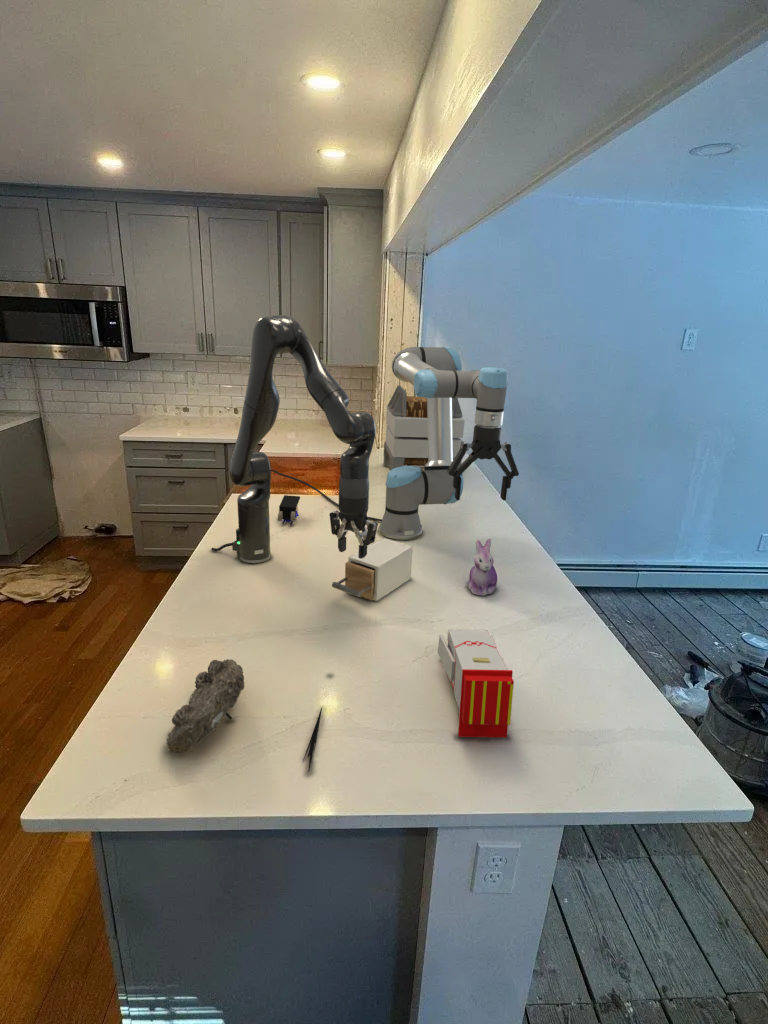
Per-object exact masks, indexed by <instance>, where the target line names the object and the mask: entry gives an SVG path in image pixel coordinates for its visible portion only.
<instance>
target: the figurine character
mask: <svg viewBox="0 0 768 1024" xmlns="http://www.w3.org/2000/svg"><path fill="white" fill-rule="evenodd" d="M300 499H301V495H287V494H284V495H283V497H282V500H281V502H280V504H279V506H278V514H277V521H279V522H282V523H281V525H283V526H284V525H285V524H286V523H290V524H289V525H290V526H292V525H293V523H294V522H295V521H296V519H297V517H299V513H298V511H299V507H298V504H299V502H300Z"/></svg>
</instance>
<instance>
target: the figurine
mask: <svg viewBox="0 0 768 1024" xmlns="http://www.w3.org/2000/svg"><path fill="white" fill-rule="evenodd" d="M491 547H492V539H491V538H488V539H487V540H486V541H485V543H484V545H483V544H482V542H481V541H480V540H479V539H476V540H475V549H476V551H475V552H476V553H475V556H474V558H473V563H474V566H472V567H471V568H470V570H469V575H468V579H469V580H468V583H467V587H468V589H469V591H471V593H472V594H473V595H476V596H486V595H490V594H493V592H494V591H496V588H497V583H498V574H497V570H496V568H495V567H494V563H495V562H494V561H495V560H494V556H493V555H492V553H491Z"/></svg>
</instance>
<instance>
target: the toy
mask: <svg viewBox="0 0 768 1024" xmlns="http://www.w3.org/2000/svg"><path fill="white" fill-rule="evenodd" d="M446 640H447V643H446V641H445V639H444V636H443V635H442V634H439V637H438V646H437V656H438V657H439V659H440V661H441V663H442V666H443V668H444V670H445V672H446V674H447V677H448V679H449V681H450V684H451V687H452V690H453V693H454V697H455V701H456V705H457V708H458V711H459V714H458V715H459V716H458V730H457V731H458V732H457V737H458V738H508V731H509V726H510V725H511V717H512V707H513V697H514V696H513V695H514V684H515V680H514V679H513V673H514V671H513V670H512V669H508V667H507V665H506V662H505V661H504V659H503V658H502V655H501V653H500V651H499V649H498V647H497V643H496V639H495V637H494V635H493V634H491V632H490V631H489V629H467V628H466V629H465V628H463V629H461V628H460V629H459V628H448V630H447V639H446Z"/></svg>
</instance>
